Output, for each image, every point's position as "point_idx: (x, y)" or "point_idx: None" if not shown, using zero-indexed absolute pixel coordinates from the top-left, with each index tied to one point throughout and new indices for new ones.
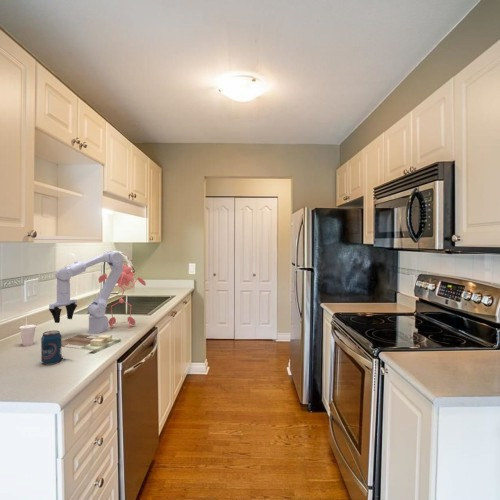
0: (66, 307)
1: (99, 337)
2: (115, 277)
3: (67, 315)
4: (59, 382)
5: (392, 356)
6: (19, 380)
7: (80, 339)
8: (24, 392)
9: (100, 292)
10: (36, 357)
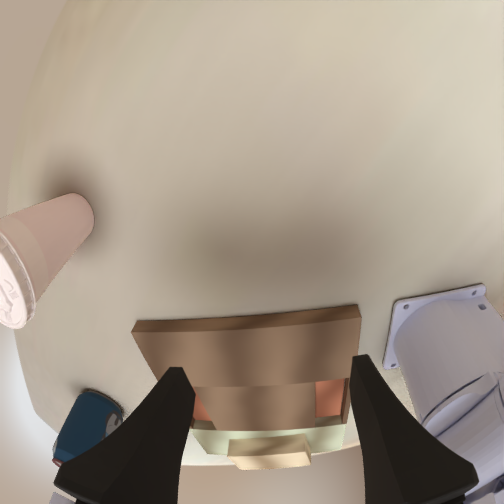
0: (389, 481)
1: (271, 458)
2: None
3: (361, 388)
4: None
5: None
6: (44, 399)
7: (275, 384)
8: (53, 422)
9: None
10: (76, 351)
